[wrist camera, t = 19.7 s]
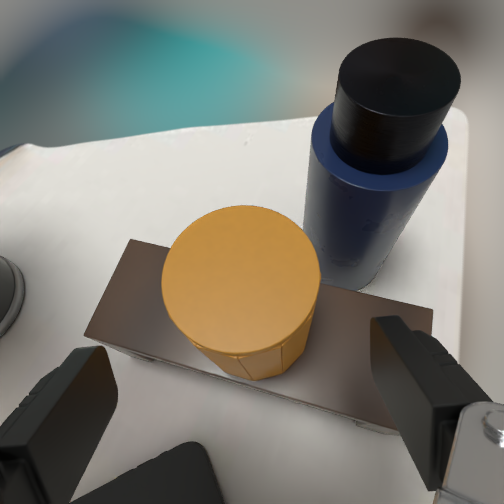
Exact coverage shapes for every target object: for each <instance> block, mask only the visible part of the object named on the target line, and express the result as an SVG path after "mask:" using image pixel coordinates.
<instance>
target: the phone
mask: <svg viewBox="0 0 504 504" xmlns="http://www.w3.org/2000/svg"><path fill="white" fill-rule="evenodd" d="M69 504H225V502H224V500H223V497H222V494H221V491H220V488H219V486H218V483H217V480H216V477H215V475H214V472H213V469H212V466H211V464H210V461H209V458H208V455H207V453H206V451H205V449H204V448H203V446H202V445H201V444H199V443H197V442H193V441H192V442H186V443H183V444H181V445H179V446H177V447H175V448H173V449H171V450H169V451H165V452H163V453H162V454H160V455H159V456H158V457H156V458H154V459H150V460H148V461H146V462H145V463H143V464H141V465H139V466H137V468H135V469H131V470H129V471H128V472H126V473H124V474H122V475H120V476H118V477H117V478H116V479H114V480H112V481H110V482H108V483H107V484H105V485H103V486H101V487H99V488H97V489H95V490H93V491H91V492H90V493H88V494H86V495H84V496H82V497H80V498H78V499H76V500H74V501H73V502H71V503H69Z"/></svg>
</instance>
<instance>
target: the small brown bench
mask: <svg viewBox="0 0 504 504" xmlns="http://www.w3.org/2000/svg"><path fill="white" fill-rule="evenodd" d="M169 250H170V248H167V247H163V246H159V245H154V244H150V243H146V242H142V241H137V240H133V239H130V240H129V242H128V245H127V247H126V249H125V251H124V253H123V255H122V257H121V259H120V261H119V263H118V265H117V267H116V269H115V271H114V273H113V275H112V277H111V279H110V281H109V284H108V286H107V288H106V290H105V292H104V294H103V296H102V298H101V300H100V302H99V304H98V306H97V308H96V310H95V312H94V314H93V316H92V318H91V320H90V322H89V325H88V327H87V329H86V331H85V333H84V336H85V337H87V338H90V339H92V340H94V341H97V342H100V343H102V344H104V345H106V346H109V347H111V348H113V349H116V350H118V351H120V352H122V353H125V354H127V355H129V356H132V357H135V358H138V359H142V360H145V361H148V362H153V360H154V359H156V360H160V361H163V362H166V363H169V364H173V365H176V366H179V367H183V368H186V369H189V370H192V371H196V372H199V373H202V374H206V375H209V376H212V377H215V378H219V379H222V380H225V381H229V382H232V383H235V384H238V385H242V386H245V387H248V388H252V389H255V390H258V391H261V392H265V393H268V394H271V395H275V396H278V397H281V398H284V399H288V400H291V401H294V402H298V403H301V404H304V405H307V406H311V407H314V408H317V409H321V410H324V411H327V412H330V413H334V414H337V415H340V416H344V417H347V418H350V419H353V420H356V425H357V426H360V427H363V428H366V429H370V430H373V431H376V432H379V433H383V434H390V435H399V436H401V435H400V433H399V431H398V429H397V427H396V425H395V423H394V421H393V419H392V417H391V415H390V413H389V411H388V409H387V407H386V405H385V403H384V401H383V399H382V397H381V395H380V393H379V391H378V389H377V387H376V384H375V382H374V379H373V375H372V371H371V363H370V320H371V318H372V317H381V316H390V315H399V316H400V317H401V318H402V319H403V321H404V322H405V323H406V324H407V326H408V327H409V328H410V329H411V330H412V331H414V330H421V331H423V332H425V333H427V334H428V335H430V336H431V334H432V320H433V310H432V309H429V308H425V307H420V306H416V305H412V304H408V303H403V302H399V301H395V300H390V299H386V298H382V297H378V296H373V295H369V294H365V293H360V292H356V291H352V290H348V289H343V288H339V287H335V286H330V285H326V284H322V283H320V287H319V292H318V296H317V300H316V305H315V309H314V314H313V318H312V322H311V325H310V329H309V333H308V337H307V341H306V345H305V349H304V351H303V353H302V354H301V355H300V356H299V357H298V358H297V359H296V360H295V362H294V363H293V364H292V365H291V366H290V367H289V368H288V369H287V370H286V371H285V372H284V373H283V372H282V374H279V375H276V376H272V377H268V378H265V379H261V380H257V381H251V380H248V379H244V378H241V377H238V376H234V375H231V374H228V373H226V372H224V371H223V370H222V369H221V368H219V367H218V366H217V365H216V364H215V363H214V362H212V361H211V360H210V359H209V358H208V357H206V356H205V355H204V354H203V353H202V352H201V351H199V350H198V349H197V348H196V347H195V346H194V345H193V344H192V343H191V342H190V341H189V340H188V338H187V337H186V336H185V335H184V334H183V333H182V332H181V331H180V330H179V329H178V328H177V326H176V325H175V324H174V322H173V321H172V320H171V319H170V318H169V315H168V312H167V310H166V307H165V304H164V301H163V296H162V287H161V280H162V271H163V267H164V263H165V260H166V257H167V254H168V252H169Z"/></svg>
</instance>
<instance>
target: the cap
mask: <svg viewBox="0 0 504 504" xmlns="http://www.w3.org/2000/svg"><path fill="white" fill-rule="evenodd" d="M320 282H321V273H320V267H319V261H318V258H317V254H316V251H315V249H314V247H313V245H312V243H311V241H310V240H309V238H308V237H307V235H306V234H305V233H304V232H303V230H302V229H301V228H300V227H299V226H298V225H296V224H295V223H294V222H293V221H291V220H290V219H289V218H287V217H286V216H284V215H282V214H280V213H278V212H275V211H273V210H270V209H267V208H263V207H257V206H244V205H242V206H231V207H226V208H222V209H219V210H216V211H213V212H211V213H208V214H206V215H204V216H203V217H201V218H199V219H197V220H196V221H195V222H193V223H192V224H191V225H189V226H188V227H187V228H186V229H185V230H184V231H183V232H182V233H181V234H180V235H179V237H178V238H177V239H176V241H175V242H174V243H173V245H172V247H171V248H170V250H169V252H168V254H167V257H166V260H165V263H164V267H163V271H162V280H161V287H162V296H163V301H164V304H165V307H166V310H167V312H168V315H169V318H170V319H171V320H172V321H173V322H174V324H175V325H176V326H177V328H178V329H179V330H180V331H181V332H182V333H183V334H184V335H185V336H186V337H187V338H188V340H189V341H190V342H191V343H192V344H193V345H194V346H195V347H196V348H197V349H198V350H199V351H201V352H202V353H203V354H204V355H205V356H206V357H208V358H209V359H210V360H211V361H212V362H214V363H215V364H216V365H217V366H218V367H219V368H221V369H222V370H223V371H224V372H226V373H228V374H231V375H234V376H238V377H241V378H244V379H248V380H251V381H257V380H261V379H265V378H268V377H272V376H276V375H279V374H282V372H283V373H284V372H285V371H286V370H287V369H288V368H289V367H290V366H291V365H292V364H293V363H294V362H295V360H296V359H297V358H298V357H299V356H300V355H301V354H302V353H303V351H304V349H305V345H306V341H307V337H308V333H309V329H310V325H311V322H312V318H313V314H314V309H315V305H316V300H317V296H318V292H319V287H320Z"/></svg>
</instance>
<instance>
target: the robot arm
mask: <svg viewBox="0 0 504 504" xmlns="http://www.w3.org/2000/svg"><path fill="white" fill-rule="evenodd" d="M23 296H24V281H23V277H22V275H21V272H20V271H19V269H18V268H17V267H16V266H15V265H14V264H13V263H12V262H10V261H9V260H7V259H5V258H4V257H2V256H0V337H1V336H2V335H3V334H4V333H5V332H6V330H7V329H8V328H9V327H10V325H11V324H12V323H13V321H14V319H15V318H16V316H17V314H18V312H19V310H20V307H21V304H22V301H23ZM370 363H371V371H372V375H373V379H374V382H375V384H376V387H377V389H378V391H379V393H380V395H381V397H382V399H383V401H384V403H385V405H386V407H387V409H388V411H389V413H390V415H391V417H392V419H393V421H394V423H395V425H396V427H397V429H398V431H399V433H400V435H401V437H402V439H403V441H404V443H405V445H406V447H407V449H408V451H409V453H410V455H411V457H412V459H413V461H414V464H415V466H416V468H417V470H418V472H419V474H420V476H421V478H422V480H423V482H424V484H425V486H426V488H427V490H428V491H436V494H435V497H434V501H433V504H504V404H500V403H494V402H493V401H492V400H491V399H490V398H489V397H488V395H487V394H486V393H485V392H484V391H483V390H482V389H481V388H480V387H479V385H478V384H477V383H476V382H475V381H474V380H473V379H472V378H471V377H470V375H469V374H468V373H467V372H466V371H465V370H464V369H463V368H462V367H461V365H460V364H457V361H456V360H455V359H454V358H453V357H452V355H451V354H448V351H447V350H446V349H445V348H444V347H443V345H442V344H441V343H440V342H439V341H438V340H437V339H436V338H434V337H432V336H430V335H428V334H427V333H425V332H423V331H421V330H414V331H412V330H411V329H410V328H409V327H408V326H407V324H406V323H405V322H404V321H403V319H402V318H401V317H400V316H399V315H390V316H381V317H372V318H371V320H370ZM117 402H118V388H117V385H116V381H115V378H114V374H113V371H112V368H111V364H110V361H109V358H108V354H107V351H106V349H105V348H104V347H103V346H91V347H82V348H76V349H74V350H73V351H72V352H71V353H70V355H69V356H68V357H67V358H66V359H65V361H64V362H63V363H62V364H61V365H60V367H57V368H55V369H54V370H53V371H51V372H50V373H49V374H47V375H46V376H45V377H43V378H42V379H41V380H40V381H39V382H38V383H37V384H36V385H35V387H34V388H33V389H32V390H31V391H30V392H29V396H26V397H25V398H24V399H23V400H22V402H21V403H20V404H19V407H18V408H16V409H15V410H14V411H13V412H12V413H11V414H10V416H9V417H8V418H7V419H6V420H5V421H4V423H3V424H2V425H1V426H0V504H69V502H70V500H71V498H72V496H73V494H74V492H75V490H76V488H77V486H78V484H79V482H80V480H81V478H82V476H83V474H84V472H85V470H86V468H87V466H88V464H89V462H90V460H91V458H92V456H93V454H94V452H95V450H96V448H97V446H98V444H99V442H100V440H101V437H102V435H103V433H104V431H105V429H106V427H107V425H108V423H109V421H110V419H111V417H112V415H113V413H114V411H115V409H116V406H117Z"/></svg>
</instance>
